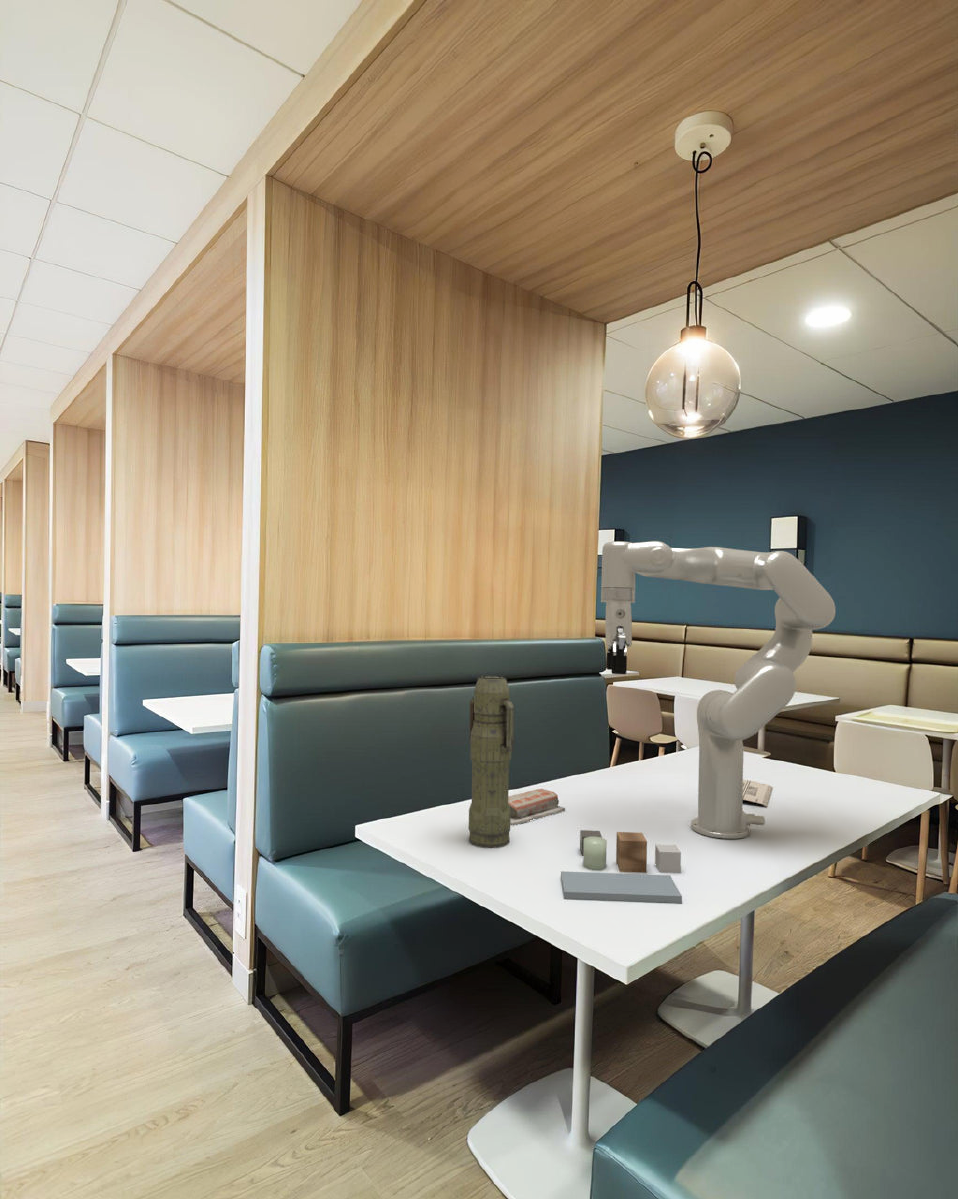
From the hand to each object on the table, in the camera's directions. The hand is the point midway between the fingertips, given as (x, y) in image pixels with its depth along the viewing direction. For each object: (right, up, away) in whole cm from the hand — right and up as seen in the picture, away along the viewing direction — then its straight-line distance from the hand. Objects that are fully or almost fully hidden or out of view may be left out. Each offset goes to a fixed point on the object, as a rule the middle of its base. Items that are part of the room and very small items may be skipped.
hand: (616, 671), depth 156 cm
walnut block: (-2, -36, -23) cm, 42 cm away
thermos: (-29, -35, -9) cm, 47 cm away
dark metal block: (-8, -36, -15) cm, 40 cm away
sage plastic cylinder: (-9, -36, -22) cm, 43 cm away
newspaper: (+41, -37, +30) cm, 63 cm away
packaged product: (-20, -36, +10) cm, 42 cm away
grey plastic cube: (+5, -36, -23) cm, 43 cm away
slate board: (-6, -35, -33) cm, 49 cm away
